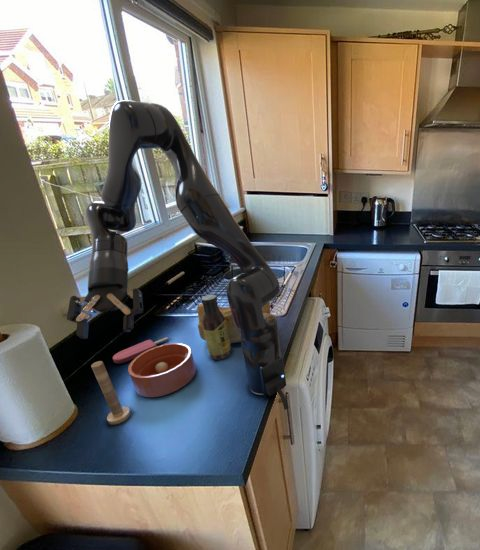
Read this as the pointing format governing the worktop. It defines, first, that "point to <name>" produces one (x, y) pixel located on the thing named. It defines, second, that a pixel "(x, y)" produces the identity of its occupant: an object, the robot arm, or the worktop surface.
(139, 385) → the mixing bowl
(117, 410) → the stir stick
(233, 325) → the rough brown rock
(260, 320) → the robot arm
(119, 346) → the worktop surface
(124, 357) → the popsicle
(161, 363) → the dough ball
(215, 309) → the sauce bottle
